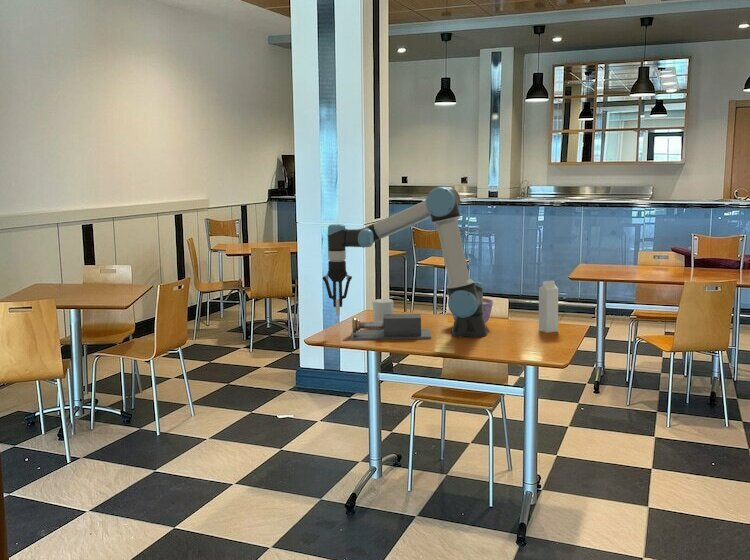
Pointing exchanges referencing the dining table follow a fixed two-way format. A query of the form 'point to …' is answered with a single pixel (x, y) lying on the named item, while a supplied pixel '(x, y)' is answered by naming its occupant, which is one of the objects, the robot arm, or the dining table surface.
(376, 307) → the candle holder
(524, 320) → the dining table surface
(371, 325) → the shaft
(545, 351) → the dining table surface
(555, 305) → the milk
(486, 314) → the bowl of food
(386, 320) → the bearing block
